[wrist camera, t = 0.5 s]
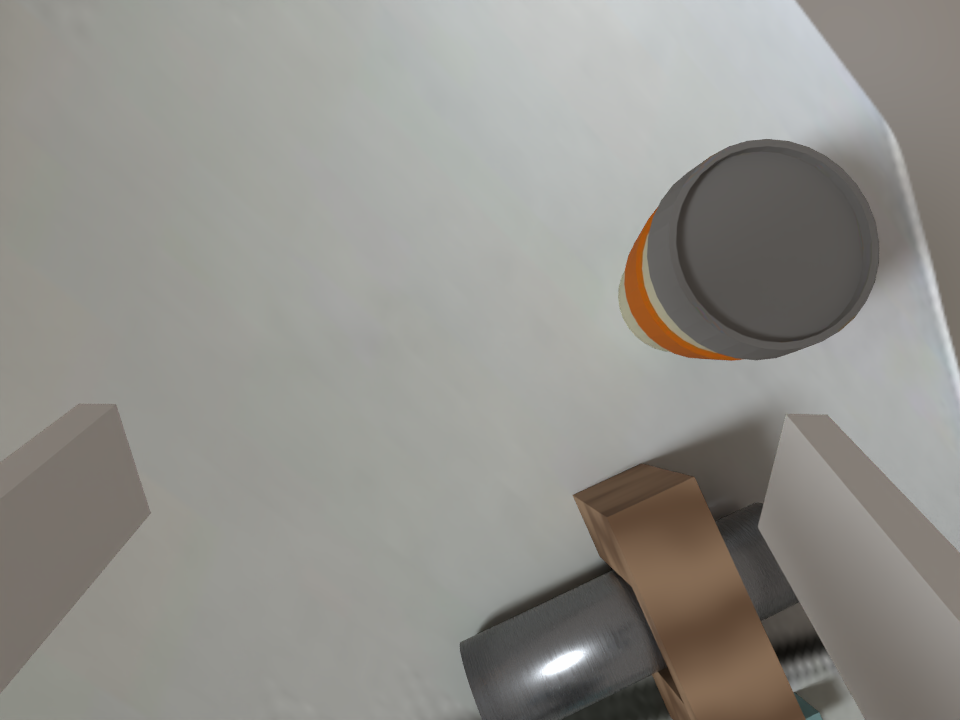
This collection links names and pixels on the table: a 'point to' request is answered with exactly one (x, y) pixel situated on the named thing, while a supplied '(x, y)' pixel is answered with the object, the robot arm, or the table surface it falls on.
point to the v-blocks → (807, 709)
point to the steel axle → (598, 637)
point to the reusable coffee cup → (752, 256)
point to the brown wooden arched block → (688, 597)
